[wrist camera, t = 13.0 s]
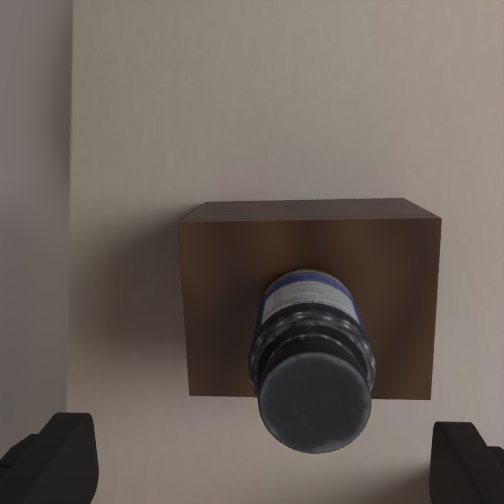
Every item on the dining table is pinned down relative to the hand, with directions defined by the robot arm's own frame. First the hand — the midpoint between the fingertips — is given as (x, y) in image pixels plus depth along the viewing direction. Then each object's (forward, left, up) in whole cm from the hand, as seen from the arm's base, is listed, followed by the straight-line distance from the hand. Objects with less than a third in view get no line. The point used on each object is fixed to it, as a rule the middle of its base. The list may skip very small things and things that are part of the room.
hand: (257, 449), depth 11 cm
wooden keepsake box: (+2, -4, -29) cm, 29 cm away
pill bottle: (+2, -4, -19) cm, 20 cm away
